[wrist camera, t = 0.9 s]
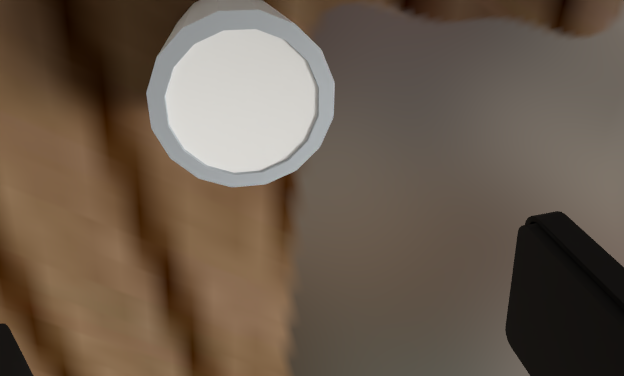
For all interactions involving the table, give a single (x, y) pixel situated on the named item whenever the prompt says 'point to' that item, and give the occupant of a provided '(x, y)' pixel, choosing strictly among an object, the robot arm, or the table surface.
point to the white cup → (239, 93)
